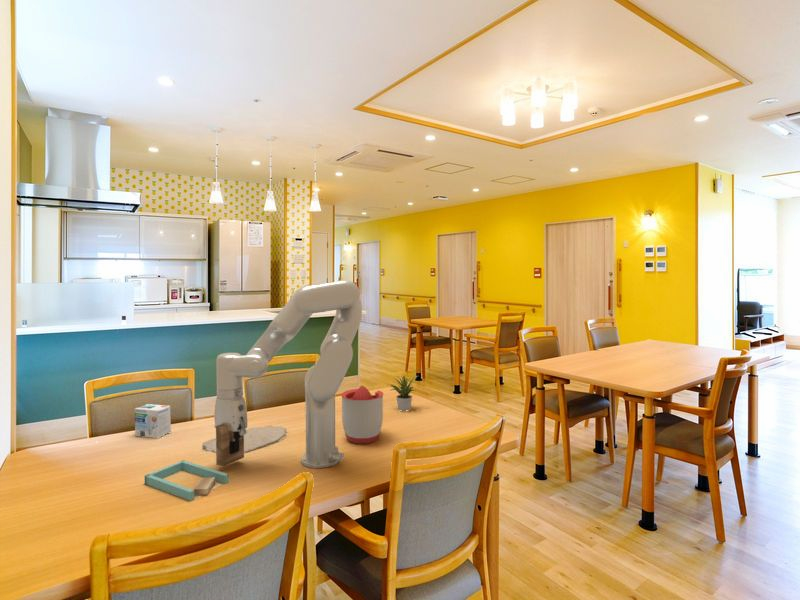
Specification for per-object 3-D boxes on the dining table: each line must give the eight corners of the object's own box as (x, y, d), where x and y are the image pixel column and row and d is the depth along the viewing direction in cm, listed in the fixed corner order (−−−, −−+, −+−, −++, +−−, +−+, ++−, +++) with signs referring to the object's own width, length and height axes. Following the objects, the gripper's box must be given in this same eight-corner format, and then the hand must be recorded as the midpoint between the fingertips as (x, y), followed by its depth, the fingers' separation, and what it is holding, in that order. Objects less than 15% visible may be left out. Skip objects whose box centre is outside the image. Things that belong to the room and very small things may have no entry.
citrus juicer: (392, 433, 170) (392, 382, 169) (370, 449, 155) (370, 392, 154) (357, 427, 177) (357, 378, 176) (333, 442, 161) (332, 388, 160)
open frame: (228, 486, 127) (228, 474, 127) (190, 505, 117) (190, 492, 116) (183, 471, 137) (183, 460, 137) (144, 487, 126) (144, 475, 126)
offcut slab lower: (221, 490, 126) (220, 484, 126) (199, 503, 119) (199, 497, 118) (209, 488, 127) (209, 481, 127) (187, 501, 120) (187, 494, 120)
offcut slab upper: (215, 483, 127) (215, 477, 126) (207, 495, 120) (206, 488, 119) (202, 483, 126) (202, 477, 126) (193, 495, 119) (193, 489, 119)
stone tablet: (198, 448, 156) (198, 441, 156) (274, 427, 178) (274, 421, 178) (219, 462, 145) (219, 455, 145) (297, 438, 166) (297, 432, 166)
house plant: (407, 403, 211) (407, 369, 210) (427, 409, 201) (427, 374, 200) (383, 408, 202) (383, 373, 201) (403, 416, 191) (403, 378, 191)
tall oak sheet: (244, 457, 141) (243, 420, 140) (223, 466, 134) (222, 427, 133) (237, 455, 142) (237, 418, 142) (216, 464, 135) (215, 426, 134)
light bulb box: (134, 436, 167) (133, 408, 166) (148, 430, 173) (147, 403, 173) (158, 439, 164) (157, 410, 164) (171, 432, 171) (171, 405, 170)
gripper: (258, 394, 136) (258, 452, 137) (221, 387, 144) (222, 442, 145) (238, 399, 130) (239, 461, 131) (201, 392, 137) (202, 450, 138)
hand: (230, 450), depth 138 cm, fingers closed on tall oak sheet, 3 cm apart
